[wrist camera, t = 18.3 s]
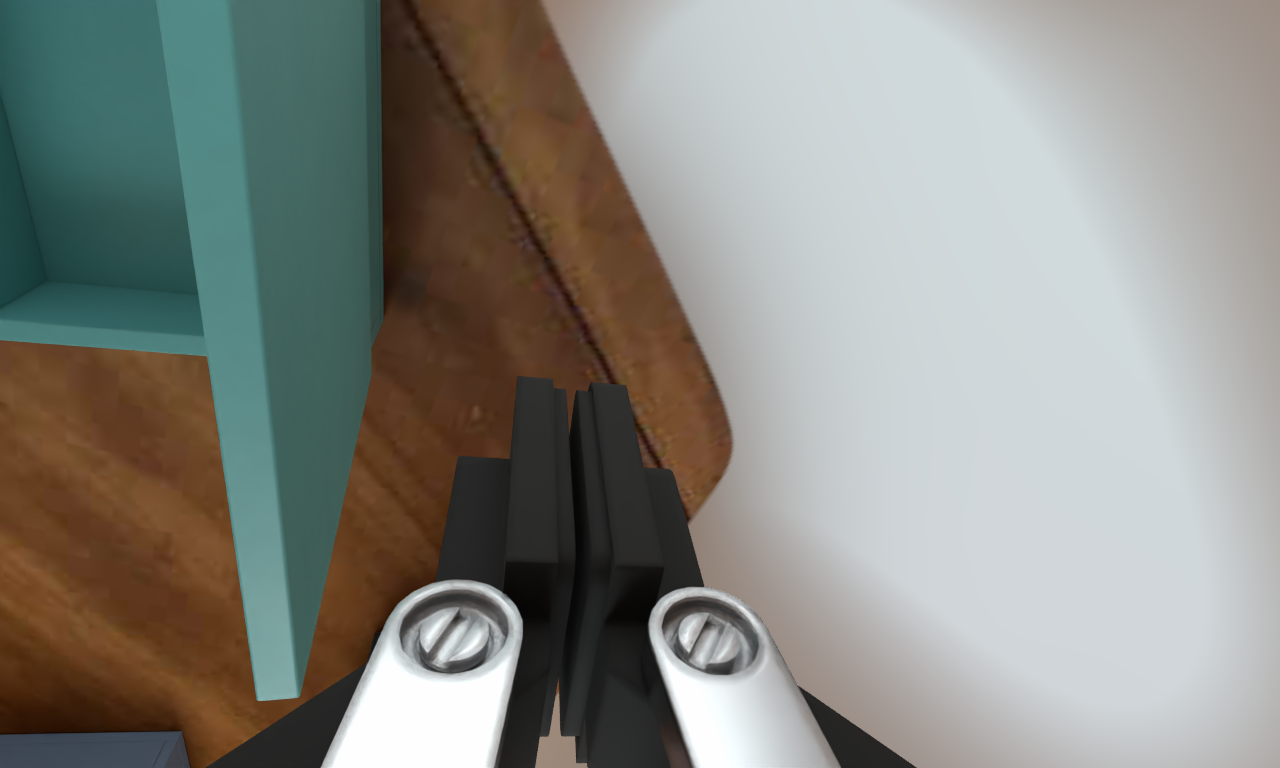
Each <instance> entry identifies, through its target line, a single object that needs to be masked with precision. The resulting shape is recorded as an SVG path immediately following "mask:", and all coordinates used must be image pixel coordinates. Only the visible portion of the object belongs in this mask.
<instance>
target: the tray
mask: <svg viewBox="0 0 1280 768" xmlns="http://www.w3.org/2000/svg"><path fill="white" fill-rule="evenodd" d="M0 768H190V765H189V760H188V756H187V752H186V747H185V743H184V738H183V734H182V731H167V732H115V733H62V734H10V735H0Z"/></svg>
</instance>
